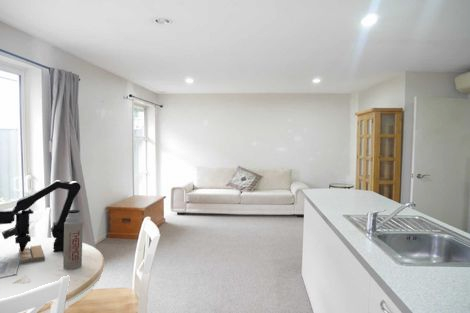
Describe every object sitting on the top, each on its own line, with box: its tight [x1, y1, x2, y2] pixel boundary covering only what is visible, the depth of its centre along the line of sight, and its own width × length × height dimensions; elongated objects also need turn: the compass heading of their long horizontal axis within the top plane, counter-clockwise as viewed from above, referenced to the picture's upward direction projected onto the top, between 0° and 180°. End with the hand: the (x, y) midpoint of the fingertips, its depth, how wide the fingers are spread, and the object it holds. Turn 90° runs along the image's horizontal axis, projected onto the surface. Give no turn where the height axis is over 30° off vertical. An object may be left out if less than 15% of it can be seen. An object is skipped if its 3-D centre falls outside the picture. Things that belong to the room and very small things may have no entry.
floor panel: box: [18, 244, 46, 265], centre depth 154 cm, size 20×10×2 cm, turn 38°
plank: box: [18, 246, 32, 262], centre depth 152 cm, size 19×4×1 cm, turn 38°
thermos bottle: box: [62, 209, 84, 271], centre depth 143 cm, size 8×8×28 cm
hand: (22, 251), depth 155 cm, fingers closed, pressing on plank
